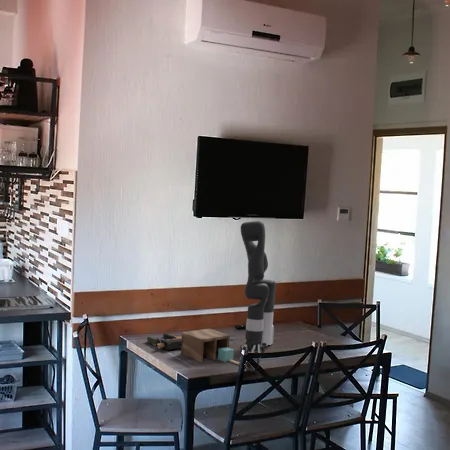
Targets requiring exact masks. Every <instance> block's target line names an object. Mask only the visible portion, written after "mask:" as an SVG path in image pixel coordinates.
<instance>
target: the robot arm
mask: <svg viewBox="0 0 450 450" xmlns="http://www.w3.org/2000/svg"><path fill="white" fill-rule="evenodd" d="M240 234H241V235H240V236H241V238H242V242H243V244H244V247H245V252H246V257H247V281H246V284H245V287H244V288H245V289H244V295H245V297H246V298H247V299H249V300H259V301H258V302H256V303H253V304H249V305H247V315H246V318H247V319H246V323H245V340H246V342H245V343H244V345H240V352H242V350H245V351H248V352H249V353H264V354H265V350H266V347H268V345H270V346H271V345H274V333H275V326H274V325H273V323H274V312H275V308H274V307H275V299H276V298H275V297H276V291H277V284H276V281H275V280H272V279H265V273H266V271H267V269H268V268H269V267H268V266H269V262H268V257H267V254H266V252H265V248H266V246H265V245H266V228H265V223H264V222H263V221H262V220H255V221H245V222H242V223H241V225H240ZM254 242H257V244H255V243H254ZM257 364H258V366H259V365H260V358H259V359H257ZM245 365H246V367H247V368H246V369H248V368H251V365H250V364H249V363H248V362H246V361H245Z"/></svg>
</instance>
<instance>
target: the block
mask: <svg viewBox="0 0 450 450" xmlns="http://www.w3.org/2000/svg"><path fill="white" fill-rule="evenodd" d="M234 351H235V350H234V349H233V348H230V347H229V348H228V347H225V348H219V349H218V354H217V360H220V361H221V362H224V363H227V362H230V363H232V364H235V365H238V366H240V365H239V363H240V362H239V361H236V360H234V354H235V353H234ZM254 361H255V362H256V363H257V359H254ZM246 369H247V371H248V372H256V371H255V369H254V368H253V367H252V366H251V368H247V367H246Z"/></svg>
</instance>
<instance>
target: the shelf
mask: <svg viewBox="0 0 450 450" xmlns="http://www.w3.org/2000/svg"><path fill="white" fill-rule="evenodd" d="M181 336H182V343H181V348H180V355H183V356H186V357H188V358H191V359H193V360H196V361H197V360H198V361H197V362H203V360H204V357H206V358H209V359H210V360H211V359H212V360H217V355H218V349H219V348H225V347H228V348H230V339H231V338H230V335H229V334H227V333H224V332H221V331H218V330H215V329H212V328H204V329H197V330H189V331H183V332H181Z"/></svg>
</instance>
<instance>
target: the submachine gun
mask: <svg viewBox="0 0 450 450" xmlns="http://www.w3.org/2000/svg"><path fill="white" fill-rule="evenodd" d="M162 337H163V338H164V339H162V338H154V337H150V336H147V337H146V343H147V342H148V344H151V345H154V346H155V348H157V349H160V348H161V350H166V351H168V350H176V349H177V350H178V349H181V343H182V335H175V334H172V333H163V335H162Z"/></svg>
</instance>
